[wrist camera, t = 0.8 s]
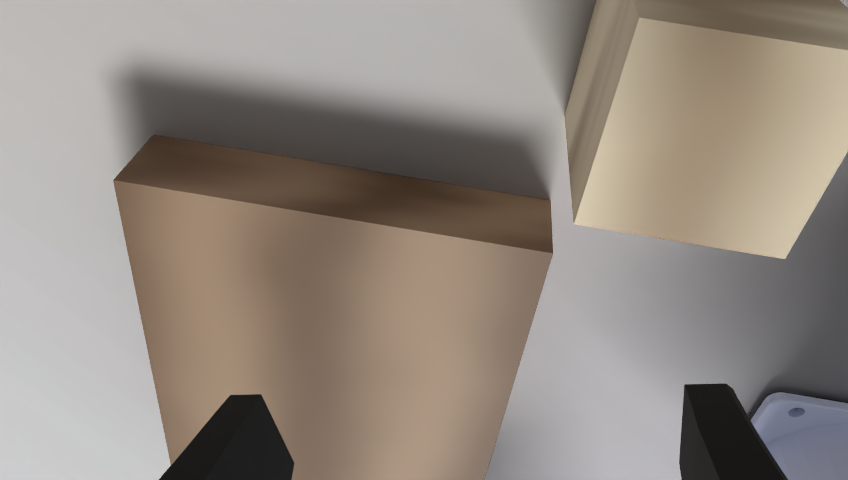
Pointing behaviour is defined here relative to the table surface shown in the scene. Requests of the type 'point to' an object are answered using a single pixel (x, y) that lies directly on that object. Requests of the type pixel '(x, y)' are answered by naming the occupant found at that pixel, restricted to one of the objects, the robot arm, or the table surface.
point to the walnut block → (333, 304)
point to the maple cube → (708, 119)
